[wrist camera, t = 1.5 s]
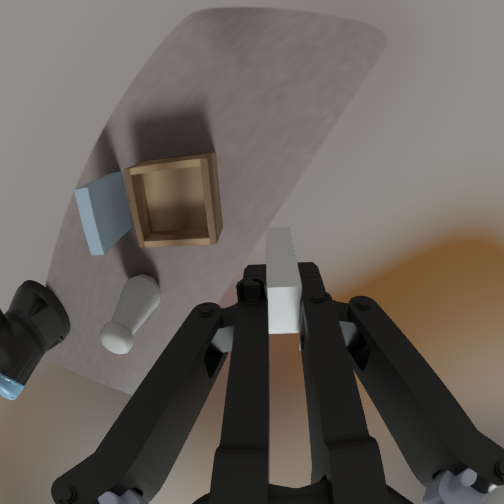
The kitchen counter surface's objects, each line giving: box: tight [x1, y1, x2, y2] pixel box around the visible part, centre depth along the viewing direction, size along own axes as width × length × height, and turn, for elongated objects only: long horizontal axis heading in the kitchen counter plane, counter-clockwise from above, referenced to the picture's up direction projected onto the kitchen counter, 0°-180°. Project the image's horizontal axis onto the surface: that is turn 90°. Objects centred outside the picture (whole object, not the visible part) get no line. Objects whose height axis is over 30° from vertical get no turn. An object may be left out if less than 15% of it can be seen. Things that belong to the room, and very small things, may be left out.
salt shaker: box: [100, 274, 160, 354], centre depth 33 cm, size 6×6×13 cm
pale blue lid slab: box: [74, 171, 132, 255], centre depth 29 cm, size 2×8×8 cm, turn 4°
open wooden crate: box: [124, 153, 223, 248], centre depth 30 cm, size 10×10×5 cm
